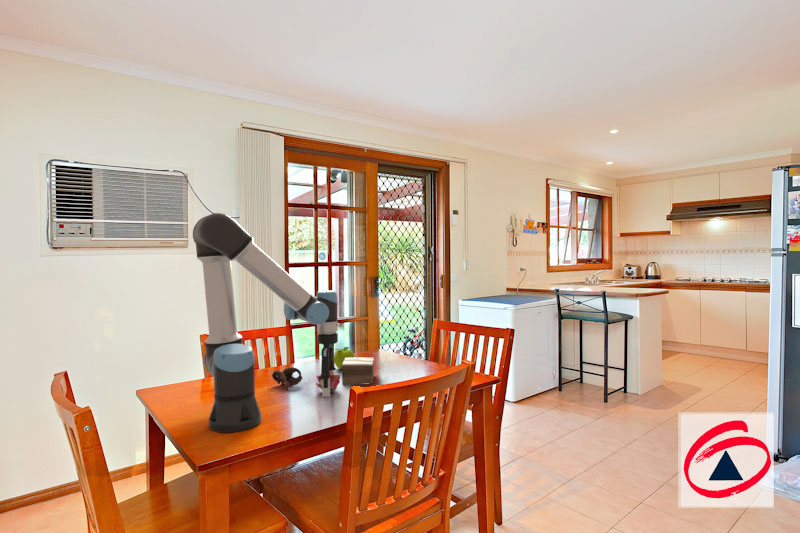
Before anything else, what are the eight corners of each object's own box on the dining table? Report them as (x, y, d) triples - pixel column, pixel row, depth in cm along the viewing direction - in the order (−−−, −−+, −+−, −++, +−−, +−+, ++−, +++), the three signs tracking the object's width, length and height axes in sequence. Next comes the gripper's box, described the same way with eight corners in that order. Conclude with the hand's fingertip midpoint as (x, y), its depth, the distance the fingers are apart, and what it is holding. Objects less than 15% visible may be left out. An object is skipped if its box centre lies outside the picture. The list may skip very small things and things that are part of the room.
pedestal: (372, 384, 180) (372, 364, 179) (342, 384, 180) (342, 364, 179) (374, 376, 192) (373, 357, 191) (345, 376, 192) (345, 357, 191)
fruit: (329, 369, 203) (329, 347, 203) (344, 365, 210) (344, 344, 210) (343, 373, 197) (343, 350, 197) (358, 368, 204) (358, 346, 204)
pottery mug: (302, 382, 185) (305, 367, 181) (296, 399, 176) (299, 384, 172) (273, 376, 184) (276, 360, 180) (266, 392, 176) (268, 377, 172)
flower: (343, 391, 165) (343, 370, 169) (319, 389, 161) (319, 368, 166) (335, 400, 172) (336, 380, 176) (311, 398, 168) (312, 378, 173)
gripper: (333, 337, 158) (334, 401, 158) (341, 327, 180) (342, 383, 181) (311, 338, 158) (312, 401, 158) (322, 327, 180) (323, 383, 181)
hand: (328, 391), depth 170 cm, fingers open, 10 cm apart
